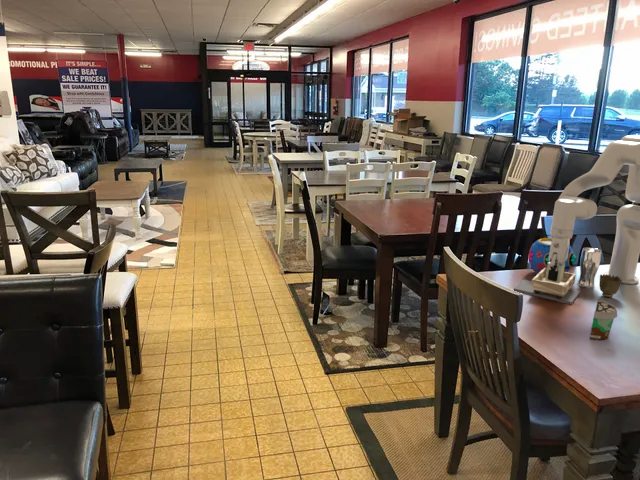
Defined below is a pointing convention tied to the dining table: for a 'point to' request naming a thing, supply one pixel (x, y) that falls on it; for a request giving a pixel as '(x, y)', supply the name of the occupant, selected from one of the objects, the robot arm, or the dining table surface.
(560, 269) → the cream rectangular block
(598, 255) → the beer glass
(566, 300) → the dark gray flat slab
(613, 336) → the dining table surface
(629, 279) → the robot arm
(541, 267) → the ceramic pot
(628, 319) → the dining table surface
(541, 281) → the slatted wooden crate
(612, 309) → the food container
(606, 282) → the cup
